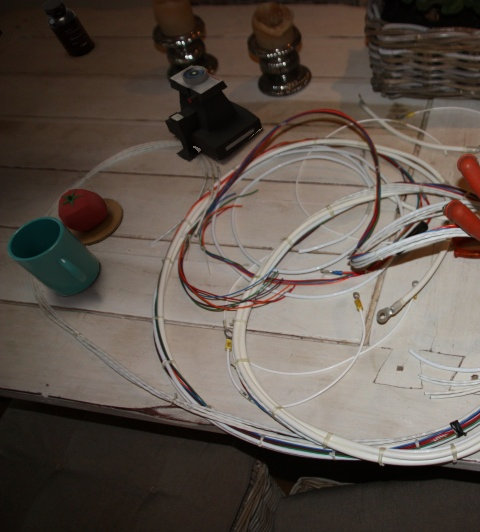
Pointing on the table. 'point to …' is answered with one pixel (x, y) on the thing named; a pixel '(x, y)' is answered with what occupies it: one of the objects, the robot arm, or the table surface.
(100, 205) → the tomato
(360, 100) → the table surface
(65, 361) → the table surface
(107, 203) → the coaster
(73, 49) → the supplement bottle
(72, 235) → the cup
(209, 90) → the camera
